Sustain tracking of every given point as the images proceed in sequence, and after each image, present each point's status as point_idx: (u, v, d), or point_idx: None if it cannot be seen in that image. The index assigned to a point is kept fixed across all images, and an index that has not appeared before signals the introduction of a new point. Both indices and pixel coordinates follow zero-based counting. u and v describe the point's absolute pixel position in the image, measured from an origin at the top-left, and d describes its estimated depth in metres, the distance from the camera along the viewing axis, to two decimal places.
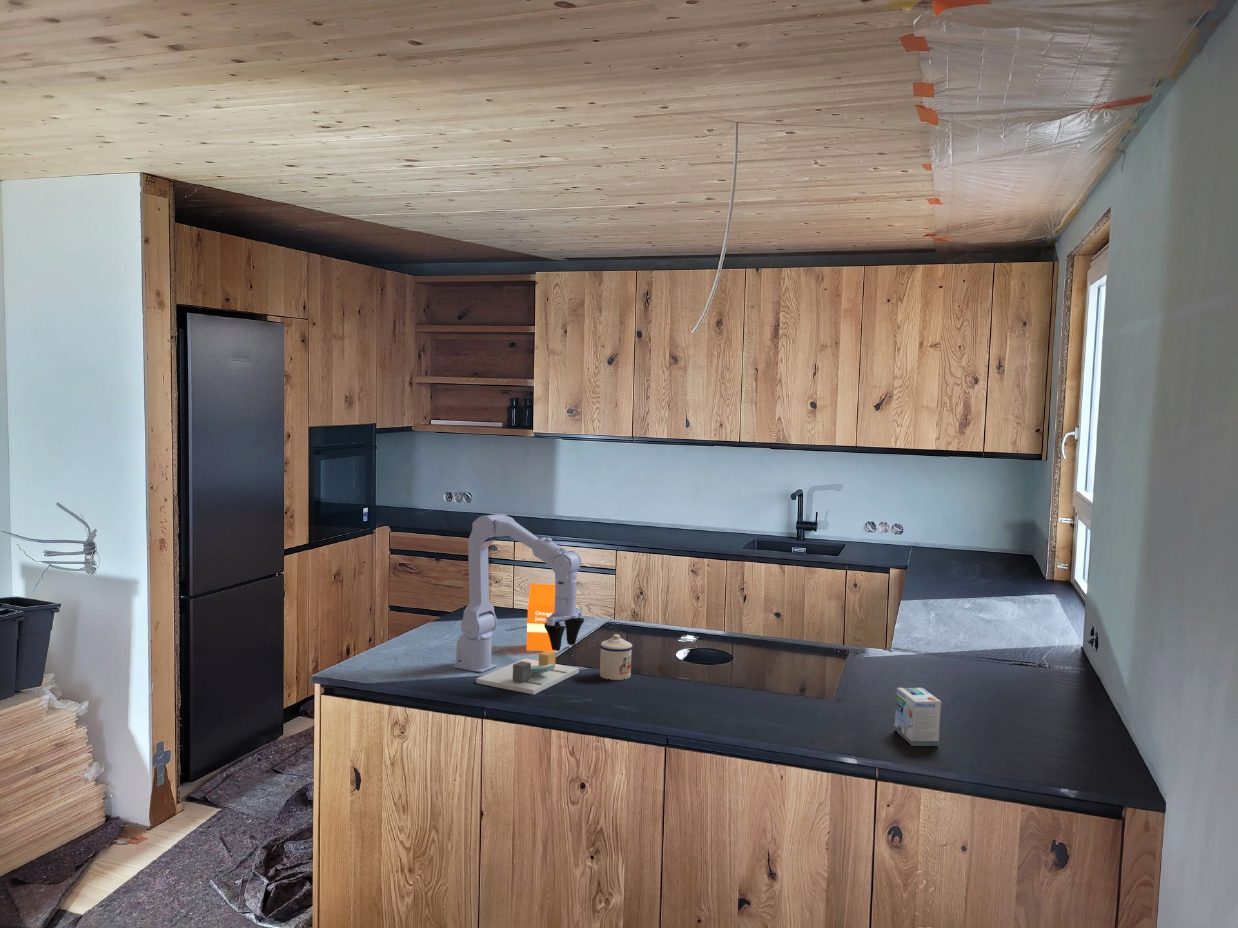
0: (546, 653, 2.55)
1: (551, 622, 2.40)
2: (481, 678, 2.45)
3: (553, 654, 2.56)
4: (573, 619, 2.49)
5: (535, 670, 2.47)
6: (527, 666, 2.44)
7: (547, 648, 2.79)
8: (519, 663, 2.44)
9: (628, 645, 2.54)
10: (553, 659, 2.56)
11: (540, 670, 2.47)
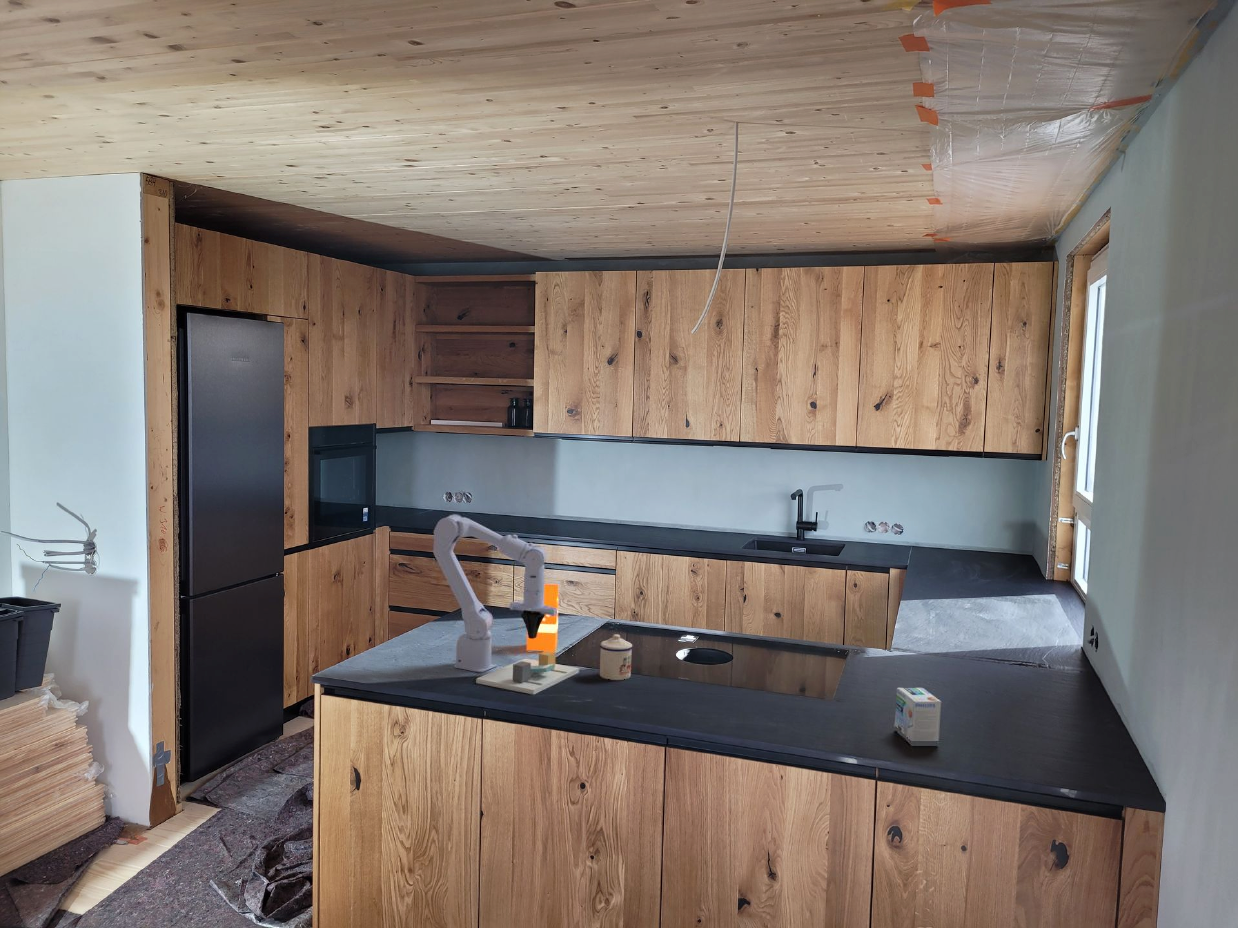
0: (546, 653, 2.55)
1: None
2: (481, 678, 2.45)
3: (553, 654, 2.56)
4: None
5: (535, 670, 2.47)
6: (527, 666, 2.44)
7: (547, 649, 2.79)
8: (519, 663, 2.44)
9: (628, 645, 2.54)
10: (553, 659, 2.56)
11: (540, 670, 2.47)
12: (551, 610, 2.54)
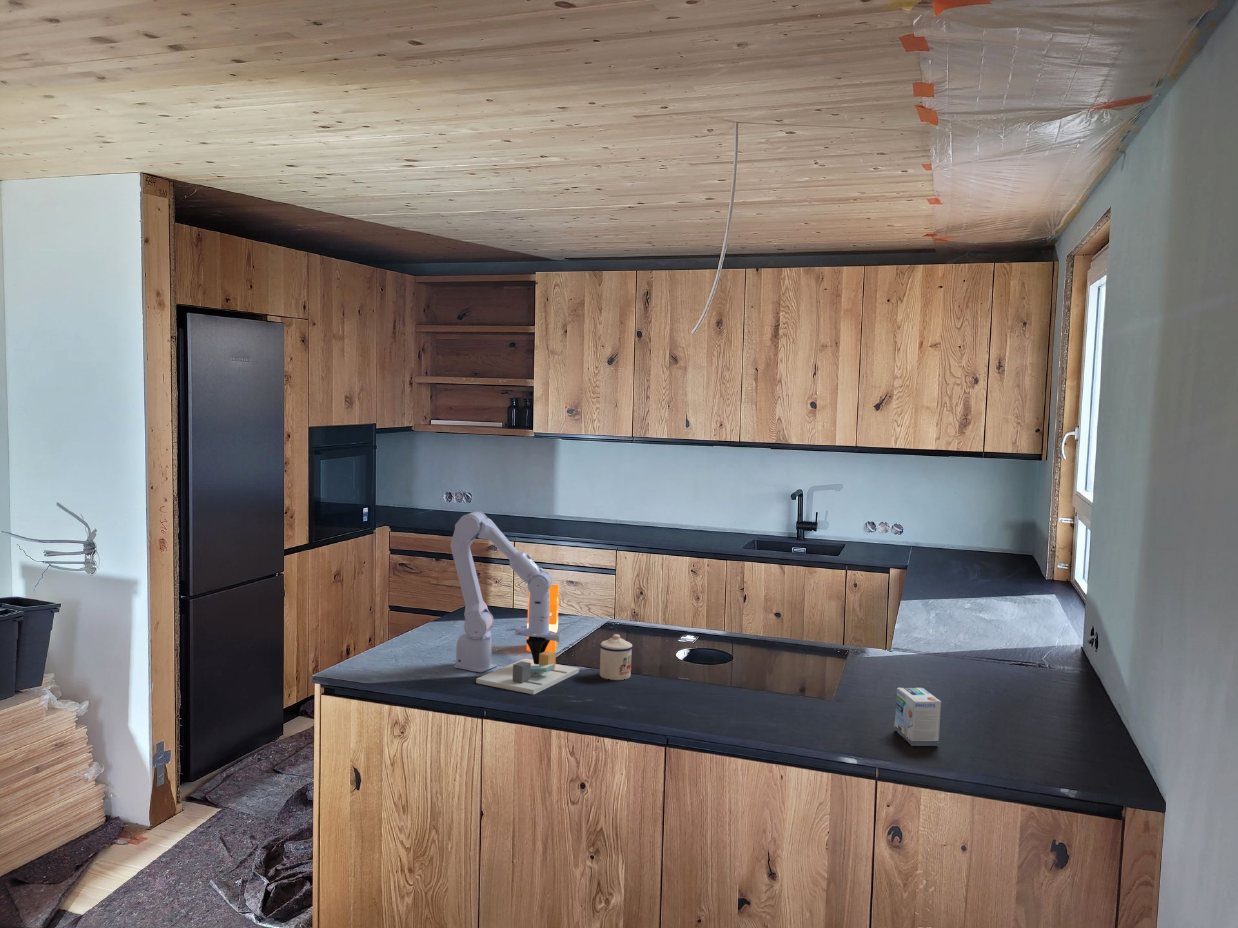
0: (546, 653, 2.55)
1: None
2: (481, 678, 2.45)
3: (553, 654, 2.56)
4: None
5: (535, 670, 2.47)
6: (527, 666, 2.44)
7: (547, 649, 2.79)
8: (519, 663, 2.44)
9: (628, 645, 2.54)
10: (553, 659, 2.56)
11: (540, 670, 2.47)
12: (556, 636, 2.53)
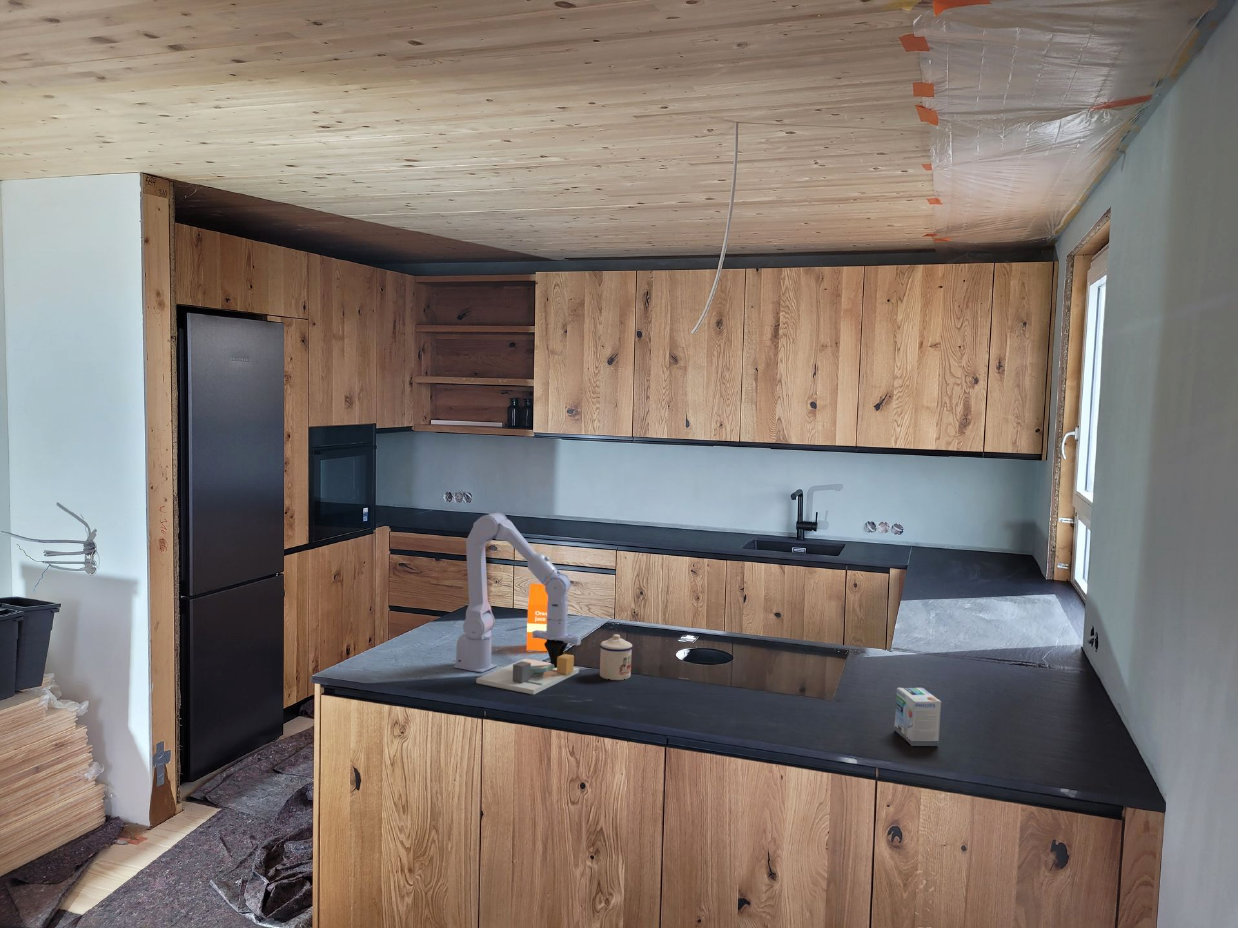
0: (564, 656, 2.53)
1: None
2: (481, 678, 2.45)
3: (571, 657, 2.53)
4: None
5: (535, 670, 2.47)
6: (527, 666, 2.44)
7: None
8: (519, 663, 2.44)
9: (628, 645, 2.54)
10: (571, 662, 2.53)
11: (540, 670, 2.47)
12: (575, 639, 2.50)
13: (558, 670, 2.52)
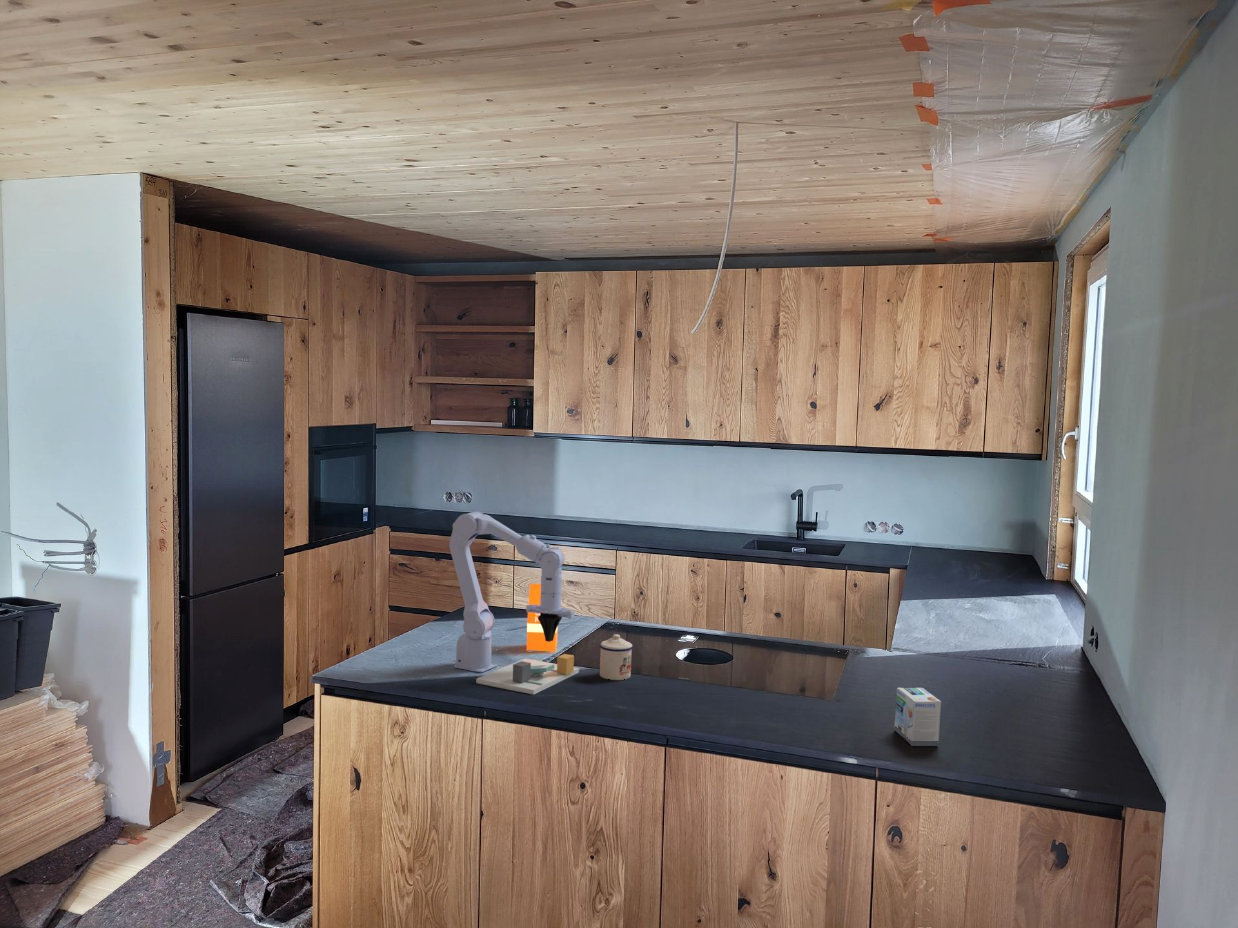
0: (565, 656, 2.53)
1: None
2: (481, 678, 2.45)
3: (572, 657, 2.53)
4: None
5: (535, 670, 2.47)
6: (527, 666, 2.44)
7: (547, 649, 2.79)
8: (519, 663, 2.44)
9: (628, 645, 2.54)
10: (572, 662, 2.53)
11: (540, 670, 2.47)
12: (568, 613, 2.51)
13: (558, 670, 2.52)
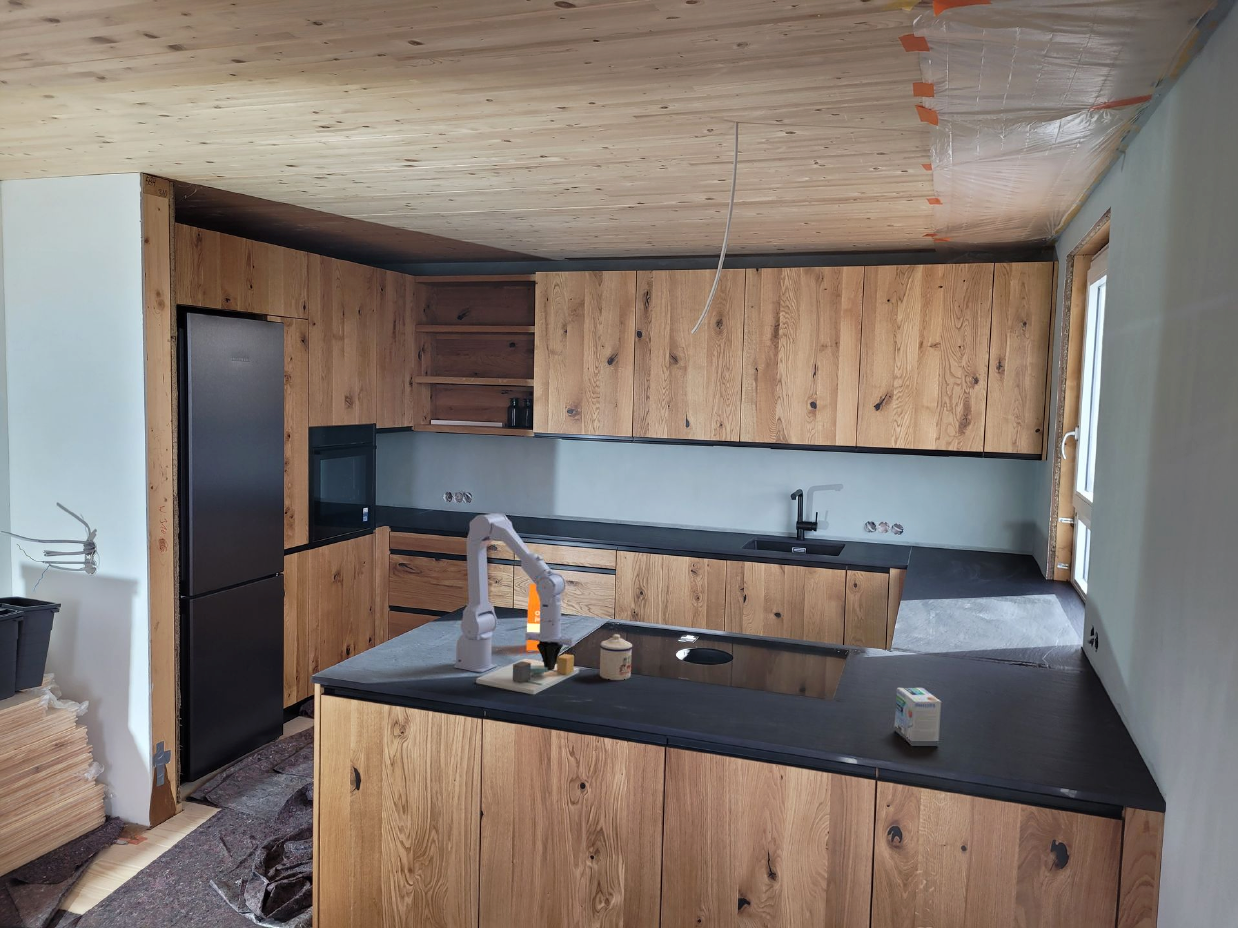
0: (565, 656, 2.53)
1: None
2: (481, 678, 2.45)
3: (572, 657, 2.53)
4: None
5: (535, 670, 2.47)
6: (527, 666, 2.44)
7: None
8: (519, 663, 2.44)
9: (628, 645, 2.54)
10: (572, 662, 2.53)
11: (540, 670, 2.47)
12: (569, 640, 2.44)
13: (558, 670, 2.52)
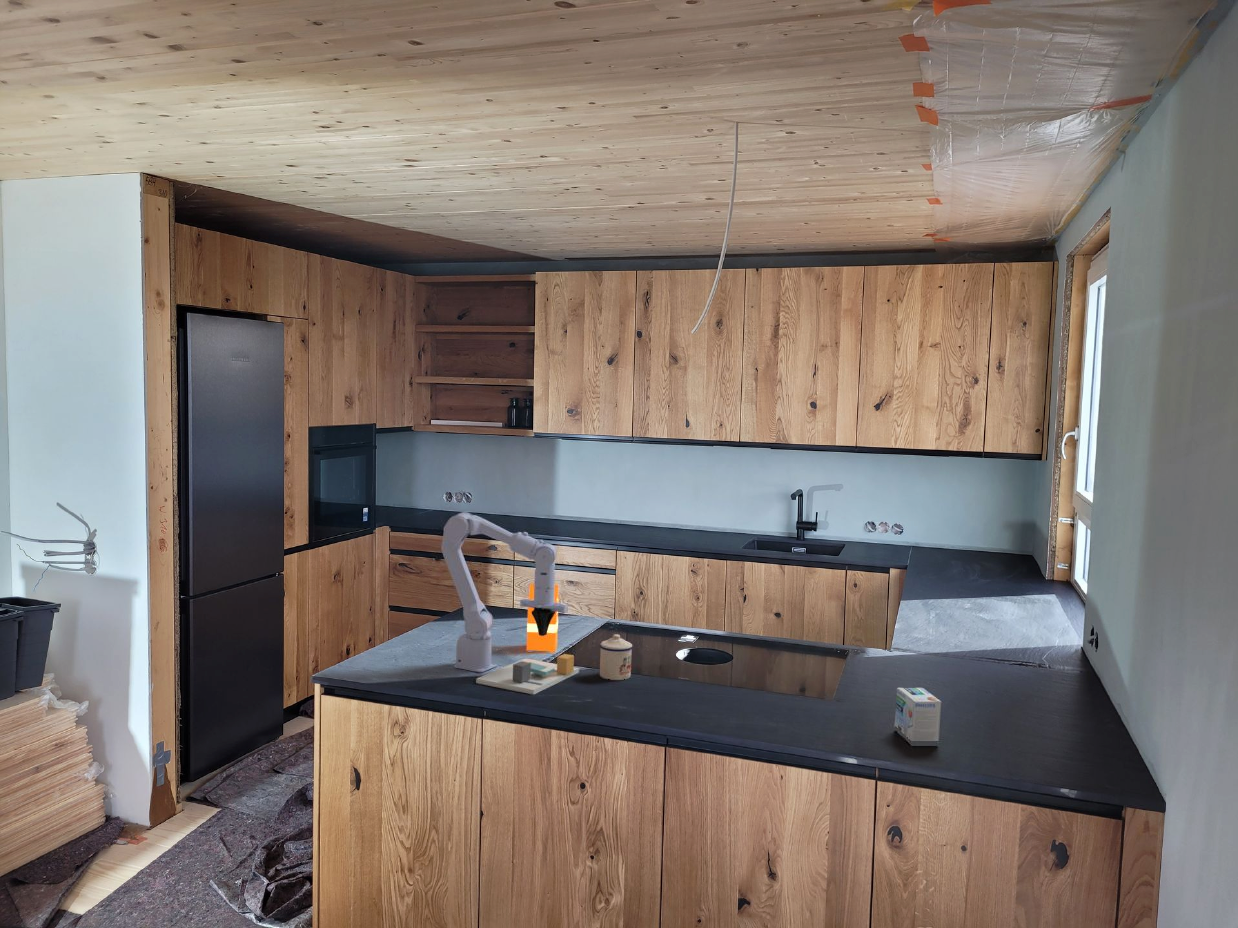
0: (565, 656, 2.53)
1: None
2: (481, 678, 2.45)
3: (572, 657, 2.53)
4: None
5: (535, 671, 2.47)
6: (527, 666, 2.44)
7: (547, 648, 2.79)
8: (519, 663, 2.44)
9: (628, 645, 2.54)
10: (572, 662, 2.53)
11: (540, 672, 2.47)
12: (561, 607, 2.53)
13: (558, 670, 2.52)
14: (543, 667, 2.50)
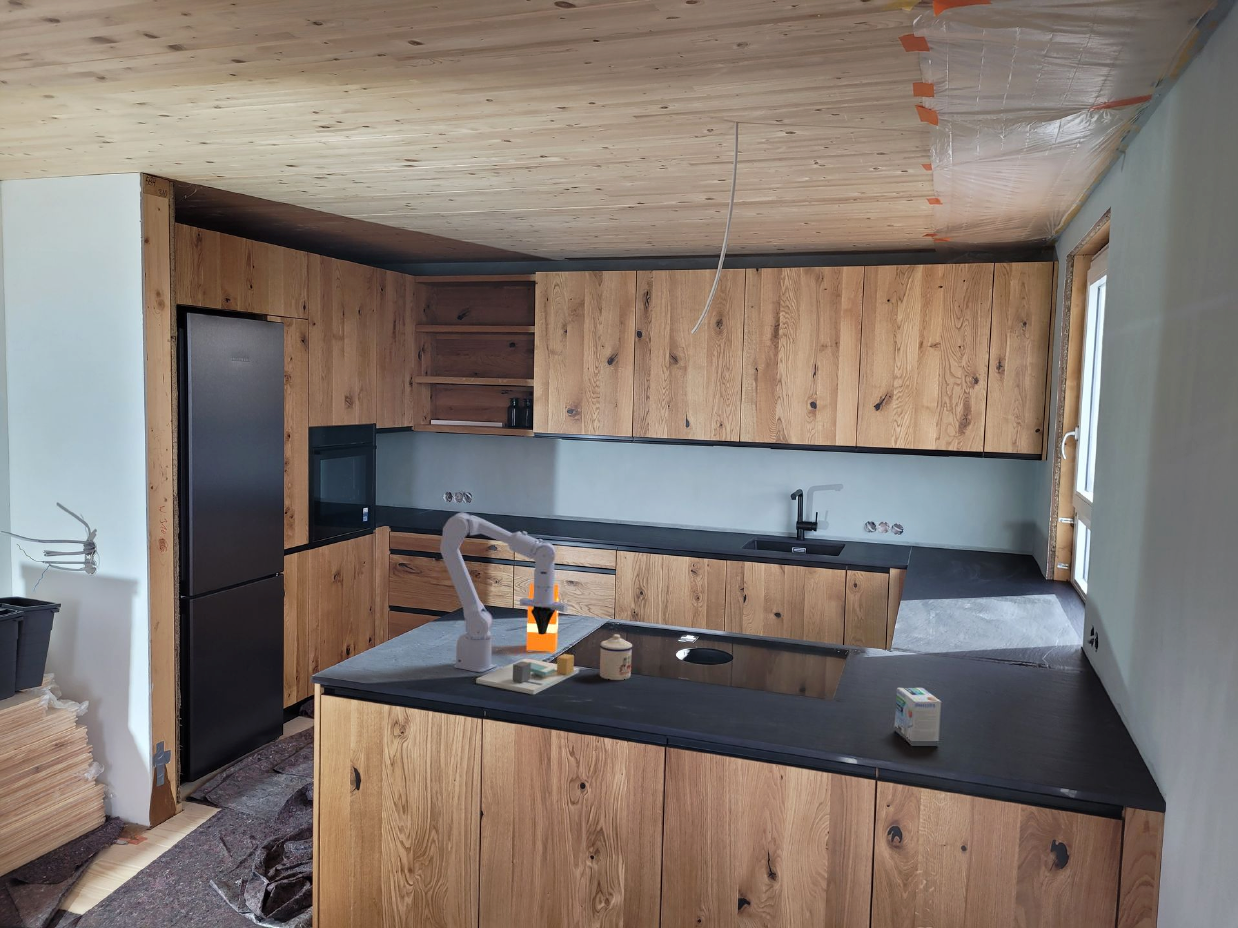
0: (565, 656, 2.53)
1: None
2: (481, 678, 2.45)
3: (572, 657, 2.53)
4: None
5: (535, 671, 2.47)
6: (527, 666, 2.44)
7: (547, 649, 2.79)
8: (519, 663, 2.44)
9: (628, 645, 2.54)
10: (572, 662, 2.53)
11: (540, 673, 2.47)
12: (561, 606, 2.54)
13: (558, 670, 2.52)
14: (543, 667, 2.50)
